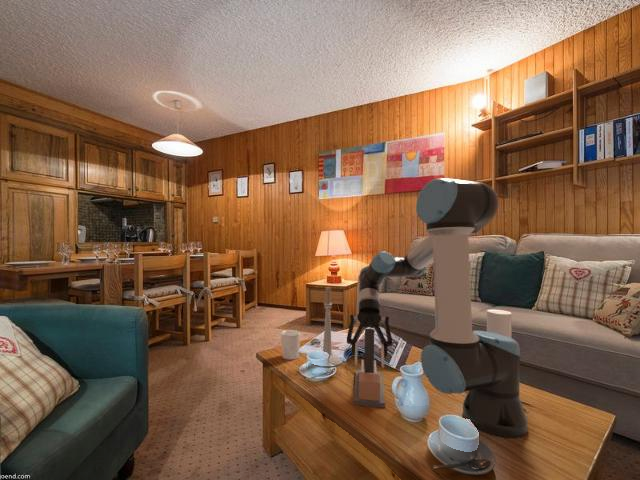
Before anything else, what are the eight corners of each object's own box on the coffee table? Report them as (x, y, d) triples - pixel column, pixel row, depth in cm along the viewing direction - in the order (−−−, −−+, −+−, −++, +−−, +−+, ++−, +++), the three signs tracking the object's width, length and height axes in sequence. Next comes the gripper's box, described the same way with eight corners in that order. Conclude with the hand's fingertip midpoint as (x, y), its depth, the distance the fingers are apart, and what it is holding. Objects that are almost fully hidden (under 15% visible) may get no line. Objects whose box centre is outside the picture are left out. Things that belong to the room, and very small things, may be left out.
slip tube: (364, 376, 103) (364, 326, 103) (373, 376, 102) (373, 326, 102) (364, 393, 91) (364, 337, 91) (374, 394, 90) (375, 337, 90)
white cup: (281, 353, 128) (281, 329, 128) (299, 353, 129) (299, 329, 129) (280, 360, 121) (280, 335, 121) (300, 360, 121) (300, 335, 122)
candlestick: (324, 370, 112) (325, 289, 112) (305, 359, 123) (306, 285, 123) (349, 362, 120) (350, 286, 120) (329, 352, 130) (330, 283, 130)
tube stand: (355, 373, 110) (356, 355, 110) (381, 375, 109) (381, 357, 109) (353, 404, 89) (354, 382, 89) (385, 407, 87) (385, 384, 87)
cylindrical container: (504, 381, 104) (504, 309, 105) (515, 392, 97) (516, 314, 98) (482, 380, 105) (483, 309, 105) (492, 390, 98) (493, 313, 98)
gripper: (397, 310, 112) (401, 372, 96) (341, 308, 115) (337, 367, 99) (398, 298, 107) (404, 362, 91) (340, 296, 110) (336, 357, 94)
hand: (369, 364), depth 95 cm, fingers open, 8 cm apart
